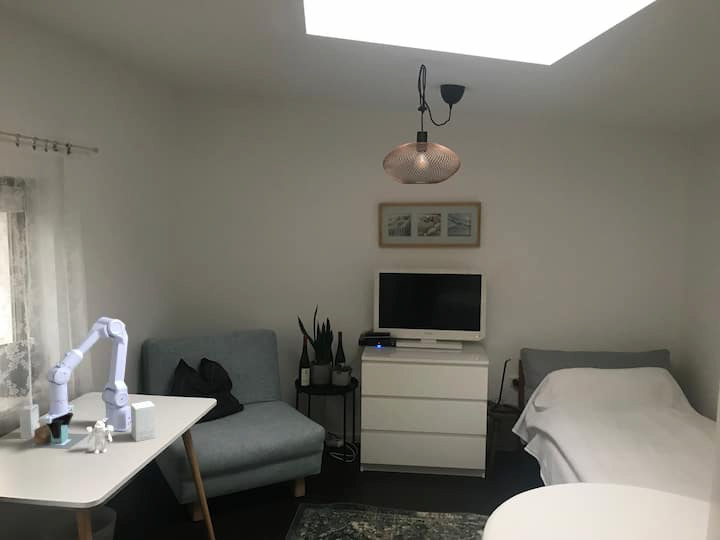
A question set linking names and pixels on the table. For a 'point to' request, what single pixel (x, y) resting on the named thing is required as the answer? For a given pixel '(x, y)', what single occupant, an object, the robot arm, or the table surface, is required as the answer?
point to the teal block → (61, 434)
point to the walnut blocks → (42, 434)
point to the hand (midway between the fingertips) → (60, 435)
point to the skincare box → (29, 420)
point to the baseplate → (66, 444)
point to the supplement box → (143, 421)
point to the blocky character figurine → (100, 435)
